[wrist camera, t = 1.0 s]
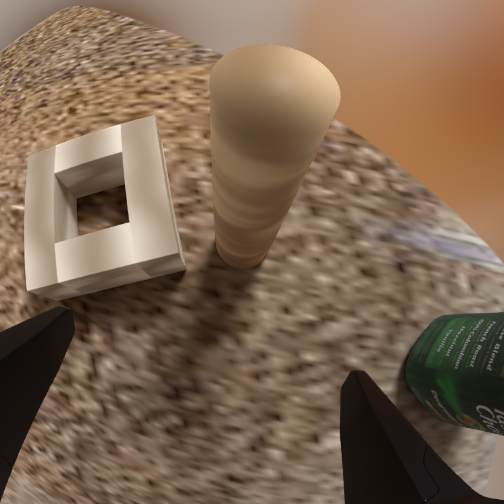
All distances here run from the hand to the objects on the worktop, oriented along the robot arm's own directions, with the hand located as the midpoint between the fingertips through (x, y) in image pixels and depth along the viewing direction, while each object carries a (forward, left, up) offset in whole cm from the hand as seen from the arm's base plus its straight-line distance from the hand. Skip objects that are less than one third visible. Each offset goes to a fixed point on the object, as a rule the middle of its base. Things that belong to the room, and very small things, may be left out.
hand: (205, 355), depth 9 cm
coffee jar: (+18, -8, -13) cm, 24 cm away
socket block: (-6, +11, -13) cm, 19 cm away
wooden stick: (+4, +7, -13) cm, 15 cm away
